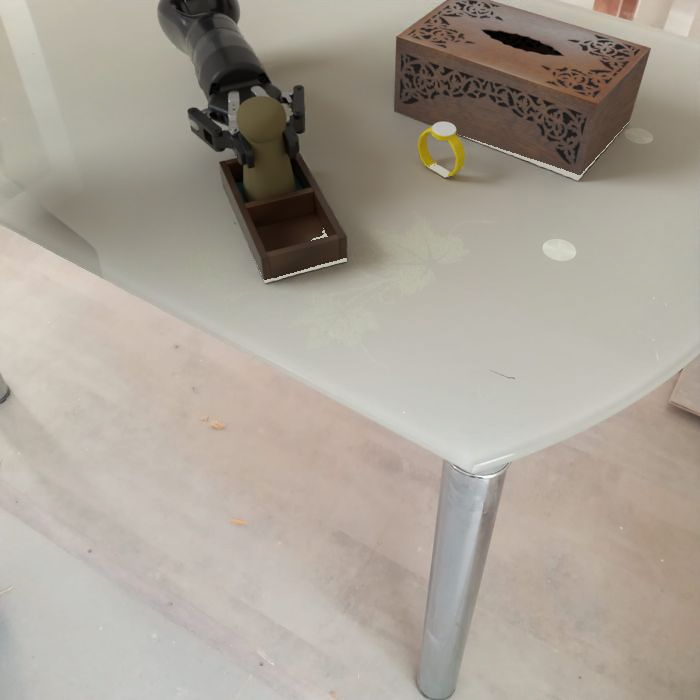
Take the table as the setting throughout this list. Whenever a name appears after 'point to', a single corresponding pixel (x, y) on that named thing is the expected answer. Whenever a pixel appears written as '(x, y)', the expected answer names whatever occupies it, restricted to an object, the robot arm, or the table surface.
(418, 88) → the tissue box cover
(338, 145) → the table surface
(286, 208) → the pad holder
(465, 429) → the table surface
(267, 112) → the olive peg doll
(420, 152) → the watch
